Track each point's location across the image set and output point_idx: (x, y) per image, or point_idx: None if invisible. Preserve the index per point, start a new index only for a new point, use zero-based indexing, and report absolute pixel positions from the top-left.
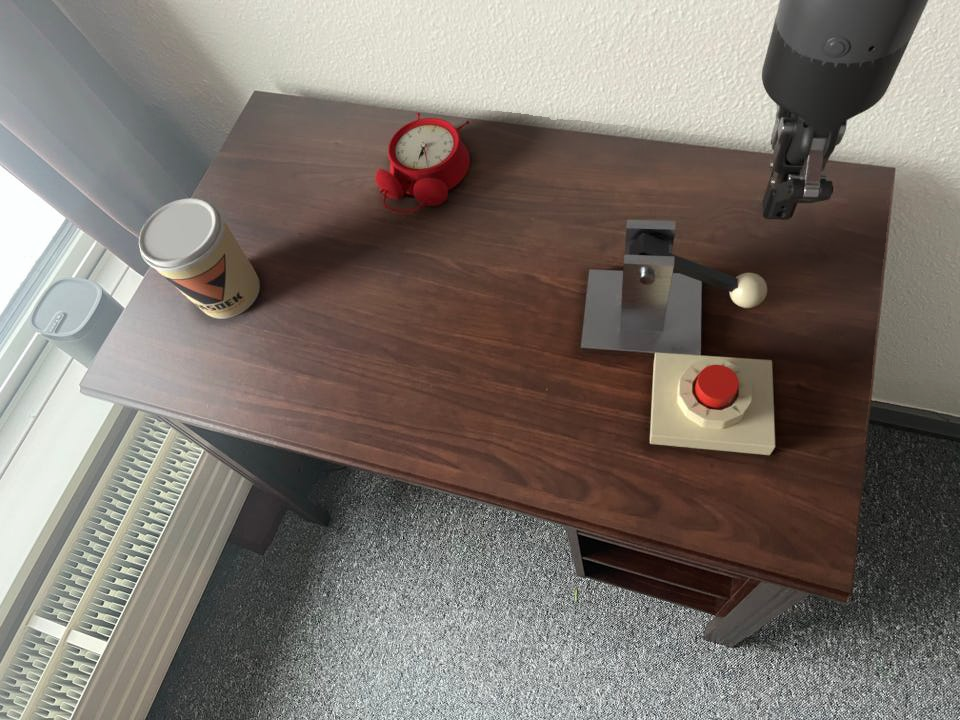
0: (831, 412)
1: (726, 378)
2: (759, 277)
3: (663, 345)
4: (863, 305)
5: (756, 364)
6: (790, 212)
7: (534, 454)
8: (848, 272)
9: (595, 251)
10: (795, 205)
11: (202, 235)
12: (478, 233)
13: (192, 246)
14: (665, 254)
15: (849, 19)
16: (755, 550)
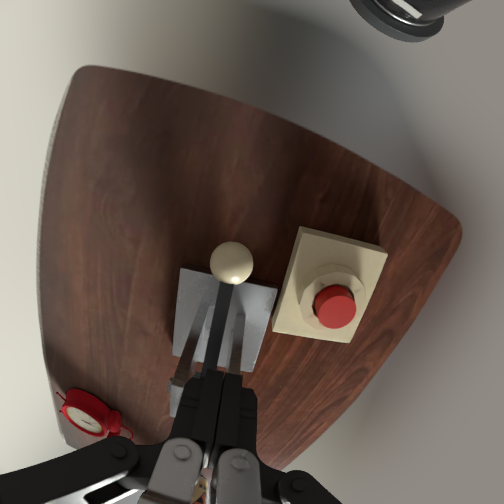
0: (353, 180)
1: (336, 305)
2: (224, 259)
3: (261, 317)
4: (235, 108)
5: (304, 248)
6: (255, 410)
7: (328, 393)
8: (190, 112)
9: (149, 339)
10: (239, 402)
11: None
12: (138, 400)
13: None
14: None
15: None
16: (435, 274)
